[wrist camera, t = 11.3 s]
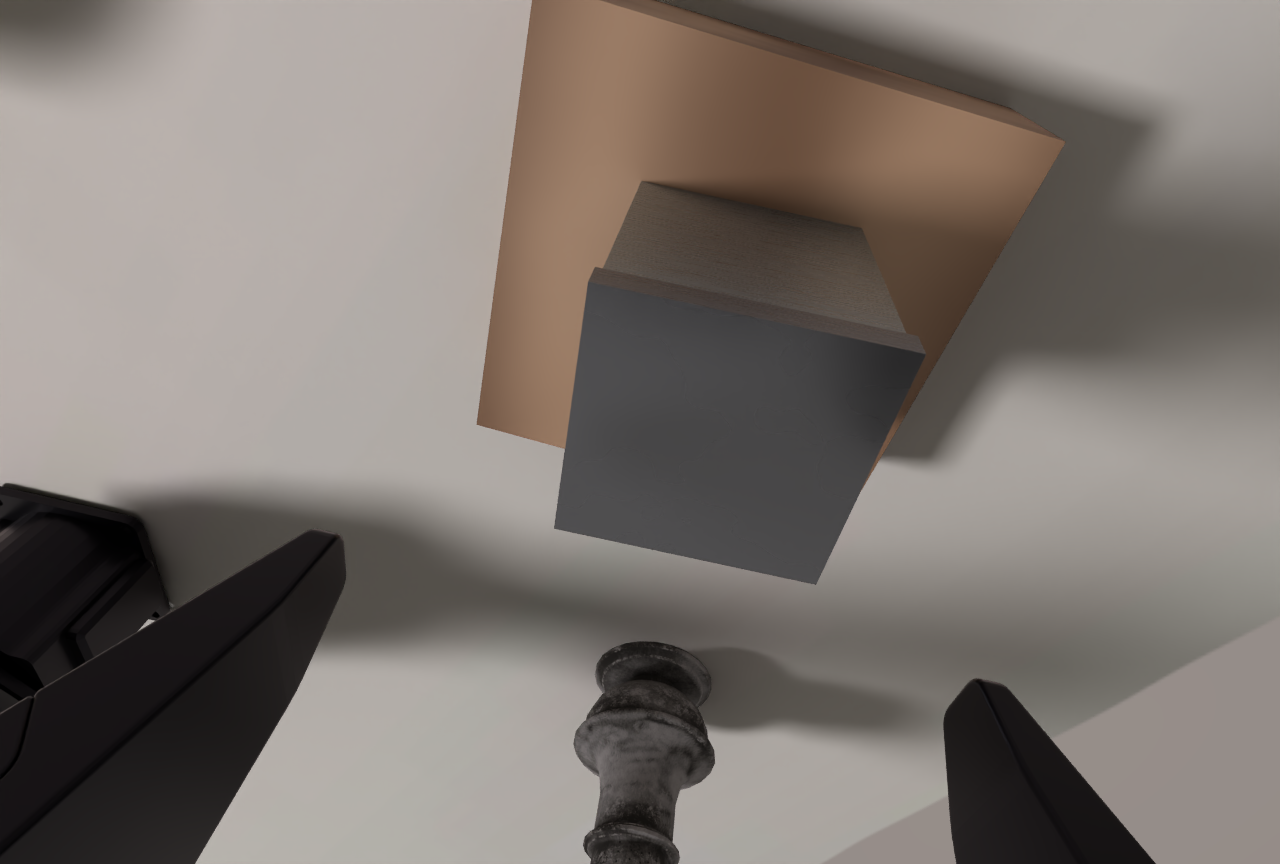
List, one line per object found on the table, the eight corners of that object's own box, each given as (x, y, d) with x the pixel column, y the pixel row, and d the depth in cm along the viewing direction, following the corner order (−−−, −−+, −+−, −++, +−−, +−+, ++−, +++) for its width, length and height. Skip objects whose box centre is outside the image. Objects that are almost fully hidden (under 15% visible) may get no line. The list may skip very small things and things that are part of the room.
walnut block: (514, 357, 23) (476, 424, 20) (575, -26, 17) (534, -20, 13) (827, 444, 24) (841, 524, 20) (1004, 104, 17) (1065, 142, 14)
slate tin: (604, 373, 18) (554, 528, 13) (637, 175, 15) (588, 280, 10) (796, 415, 18) (816, 584, 13) (868, 224, 15) (926, 354, 10)
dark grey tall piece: (682, 624, 29) (651, 967, 19) (738, 705, 32) (735, 1041, 22) (565, 653, 31) (483, 975, 21) (627, 726, 34) (579, 1042, 24)
